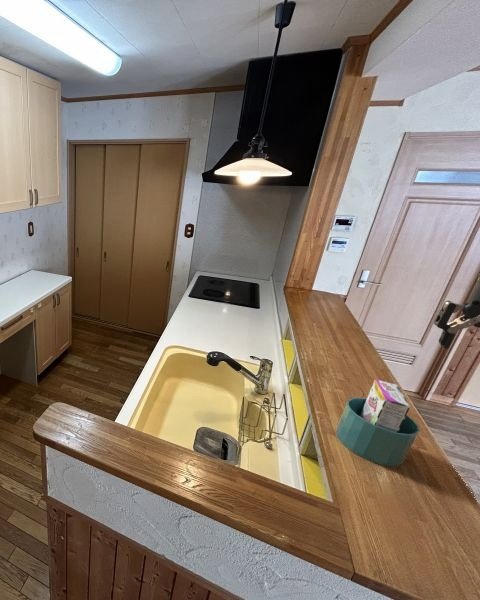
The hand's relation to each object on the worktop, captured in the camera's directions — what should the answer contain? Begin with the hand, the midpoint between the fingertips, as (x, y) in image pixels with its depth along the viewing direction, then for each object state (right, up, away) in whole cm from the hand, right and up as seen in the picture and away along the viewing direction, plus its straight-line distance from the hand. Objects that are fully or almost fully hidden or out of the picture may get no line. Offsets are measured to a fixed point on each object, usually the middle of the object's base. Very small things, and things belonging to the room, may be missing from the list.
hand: (471, 353), depth 70 cm
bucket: (-7, -28, +18) cm, 34 cm away
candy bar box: (-7, -27, +18) cm, 33 cm away
